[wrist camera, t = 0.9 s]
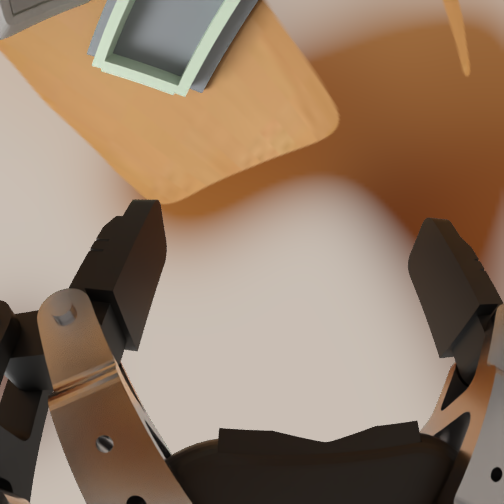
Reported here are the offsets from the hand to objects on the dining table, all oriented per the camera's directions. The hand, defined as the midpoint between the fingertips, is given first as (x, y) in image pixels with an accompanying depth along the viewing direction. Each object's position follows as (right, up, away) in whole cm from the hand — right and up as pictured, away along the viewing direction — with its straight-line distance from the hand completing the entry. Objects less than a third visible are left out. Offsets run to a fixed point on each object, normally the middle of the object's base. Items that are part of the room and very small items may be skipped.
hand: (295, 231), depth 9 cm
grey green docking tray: (-6, +22, +10) cm, 25 cm away
